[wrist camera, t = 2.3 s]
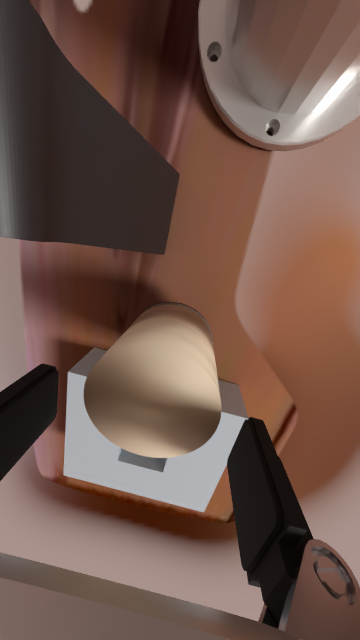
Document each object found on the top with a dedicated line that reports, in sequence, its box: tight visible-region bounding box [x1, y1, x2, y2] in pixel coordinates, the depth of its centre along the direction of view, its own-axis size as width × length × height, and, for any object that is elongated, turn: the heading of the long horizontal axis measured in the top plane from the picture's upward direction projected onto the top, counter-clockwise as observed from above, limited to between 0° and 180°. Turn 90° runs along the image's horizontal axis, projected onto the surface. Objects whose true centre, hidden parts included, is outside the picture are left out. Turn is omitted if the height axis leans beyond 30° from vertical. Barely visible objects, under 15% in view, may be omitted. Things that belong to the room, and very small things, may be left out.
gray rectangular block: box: [64, 347, 248, 512], centre depth 21 cm, size 14×16×4 cm
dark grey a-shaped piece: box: [0, 0, 180, 255], centre depth 11 cm, size 9×6×12 cm, turn 77°
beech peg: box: [84, 302, 221, 458], centre depth 14 cm, size 6×6×11 cm
